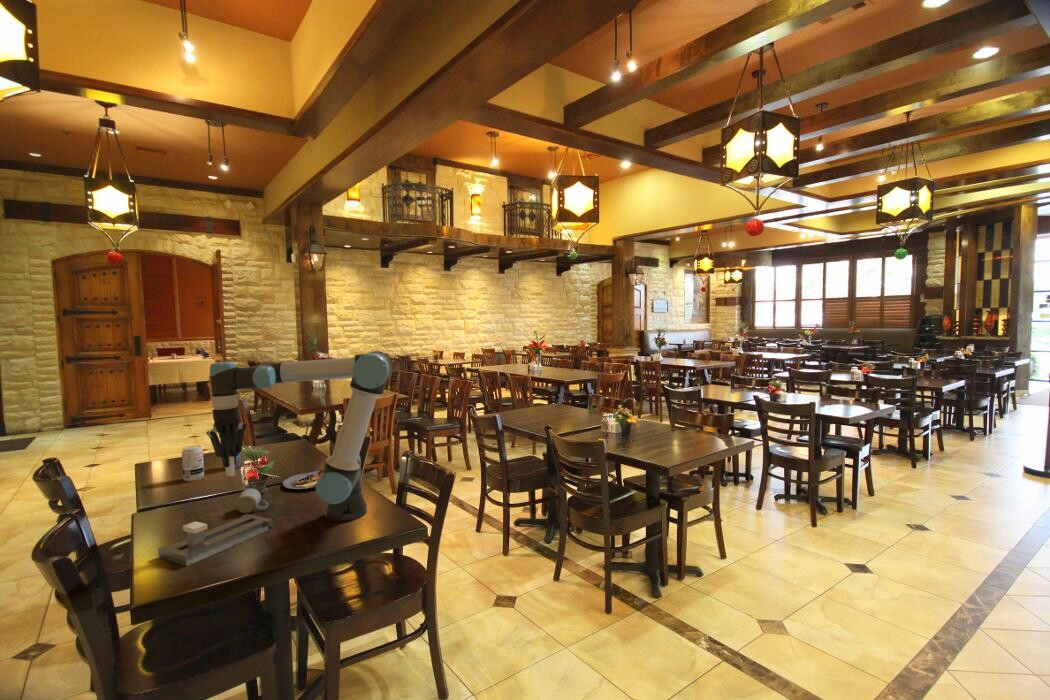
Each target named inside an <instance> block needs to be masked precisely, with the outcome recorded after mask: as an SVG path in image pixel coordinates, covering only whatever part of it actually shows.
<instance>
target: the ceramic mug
mask: <svg viewBox="0 0 1050 700" xmlns="http://www.w3.org/2000/svg"><path fill="white" fill-rule="evenodd" d="M236 501H237V502H236V505H235V506H236V509H237V511H239V512H240V513H241V514H249V513H252V512H253V511H254V510H260V511H263V510H267V509H268V507H269V503H268V502H267V501H266V500H264V499H262V495H261V492H260V491H259V490H257V489H256V488H246V489H244V490H243V491H242V492H241V493H240V494H239V496H238V499H237V500H236ZM260 504H261V505H260Z"/></svg>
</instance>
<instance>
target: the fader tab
mask: <svg viewBox="0 0 1050 700" xmlns="http://www.w3.org/2000/svg"><path fill="white" fill-rule="evenodd" d="M207 530H208V524H207V523H204V522H199V521H193V522H190V523H187V524H184V525H182V531H183V532H186V539H187V547H188V548H189V547H192V546H194V545H196V544H199V543H200V542H204V541H205V538H204V532H205V531H207Z"/></svg>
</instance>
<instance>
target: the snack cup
mask: <svg viewBox="0 0 1050 700" xmlns="http://www.w3.org/2000/svg"><path fill="white" fill-rule="evenodd" d="M242 447H244V446H243V445H242ZM229 456H230V455H229ZM242 456H243V453H242V454H241V453H238V456H236V465H235V469H238V468H240V467H241V466H242V459H243V457H242ZM221 462H222V464H223V458H221ZM213 463H214V464H217V461H216V454H215V453H214V456H213ZM222 466H223V465H222ZM222 468H223V469H224V470H226V469H225V467H224V466H223V467H222Z"/></svg>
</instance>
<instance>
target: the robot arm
mask: <svg viewBox="0 0 1050 700" xmlns="http://www.w3.org/2000/svg"><path fill="white" fill-rule="evenodd" d="M393 369H394V364H393V361H392V359H391V357H390V356H389V355H388V354H386V353H384V352H382V351H378V350H377V351H371V352H366V353H361V354H354V355H353V357H342V358H329V359H326V358H325V359H315V360H314V359H313V360H311V359H310V360H298V361H297V360H296V361H284V362H272V361H271V362H266V363H264V364H263V363H262V364H258V365H254V366H244V367H240V366H239V367H238V366H237V365H236V363H235V362H234V361H219V362H214V363H211V364H210V365H209V381H210V382H209V383H210V391H211V403H212V408H213V409H212V418H213V419H212V420H213V422H214V423H213V426H212V427H213V428H211V430H207V432H206V435H207V436H208V437H209V439H210V442H211V445H212V448H213V451H214V455H215V454H216V455H215V457H216V458H220V459H222V458H223V463H222V466H224V467H225V469H224V470H225V476H226V477H235V476H236V468H235V465H236V456H238V453H240V452H241V450H242V446H243V442H244V436H245V430H246V428H247V424H246V423H242V422H241V421H240V419H239V416H240V414H239V413H240V411H239V407H238V405H239V399H238V390H253V389H260V390H261V389H262V390H263V389H269V388H273V387H274V385H275V384H282V383H283V384H284V383H295V382H298V383H299V382H312V381H324V380H325V381H326V380H339V379H341V380H342V379H351V380H350V384H349V387H350V389H351V391H352V392H351V396H350V398H349V402H348V403H347V404H348V405H347V408H346V411H345V414H344V416H343V417H344V418H343V421H342V424H341V427H340V430H339V433H338V436H337V440H336V443H335V445H334V448H333V451H332V455H330V456H328V457H327V458H326V459H325V462H324V466H323V468H322V470H323V471H322V474H321V476H320V477H319V479H318V480H317V483H316V487H315V492H316V495H317V497H318V498H319V499H320V500H321V501H322V502H324V503H326V508H325V510H324V518H325V519H326V520H327V521H329V522H330V521H331V522H347V521H352V520H356V519H359V518H361V517H363V516H365V515H366V514H367V513H368V505H367V503H366V501H365V498H364V494H363V490H362V468H361V467H362V460H361V455H360V452H361V449H362V446H363V443H364V440H365V437H366V434H367V430H368V427H369V425H370V422H371V418H372V414H373V412H374V411H373V410H374V408H375V405H376V402H377V399H378V398H379V397H381V396H383V394H384V391H385V388H386V385H387V383H388V379H389V378H390V376H391V375H392V372H393ZM229 455H230V456H229ZM224 467H223V468H224Z"/></svg>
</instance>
